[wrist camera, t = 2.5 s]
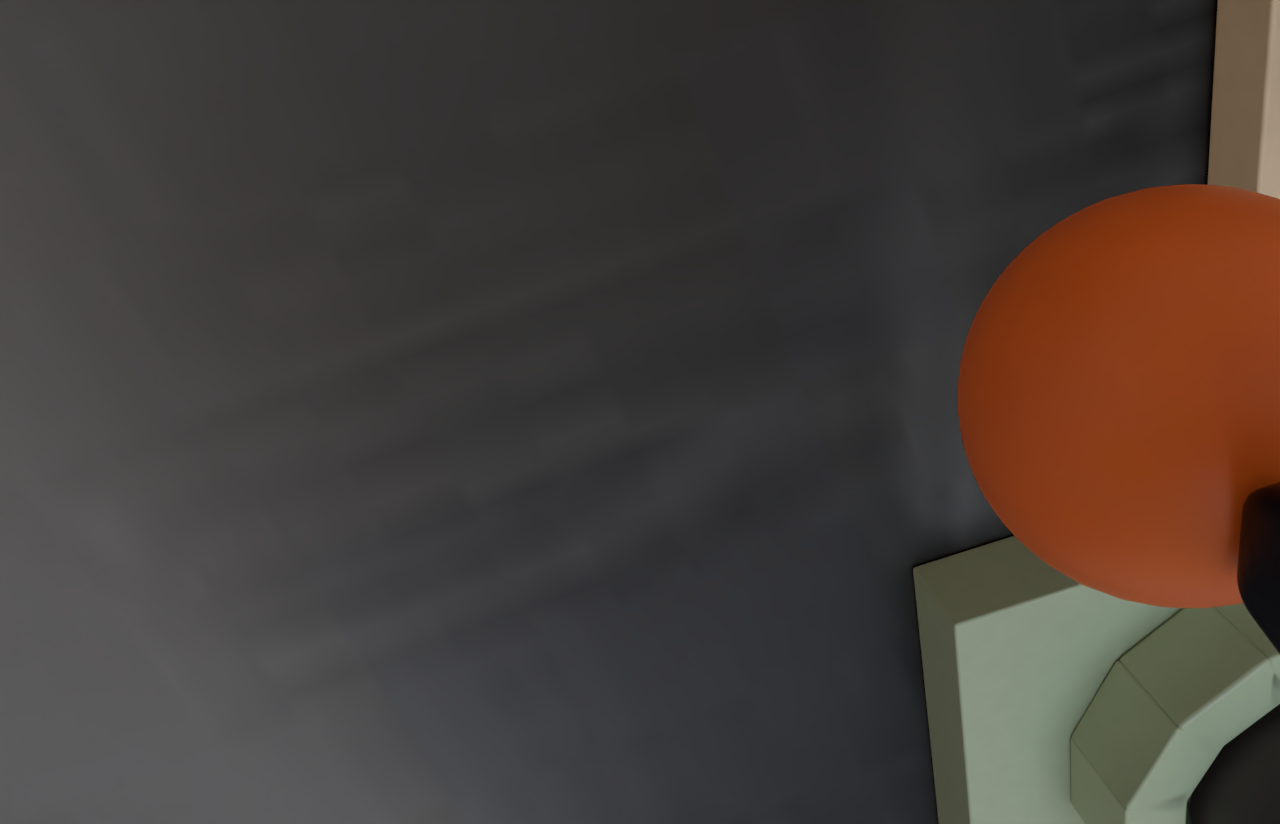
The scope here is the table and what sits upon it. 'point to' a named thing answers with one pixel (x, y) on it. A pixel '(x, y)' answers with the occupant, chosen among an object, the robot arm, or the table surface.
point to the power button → (1243, 778)
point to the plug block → (1076, 693)
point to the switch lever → (1133, 390)
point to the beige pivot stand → (1246, 97)
